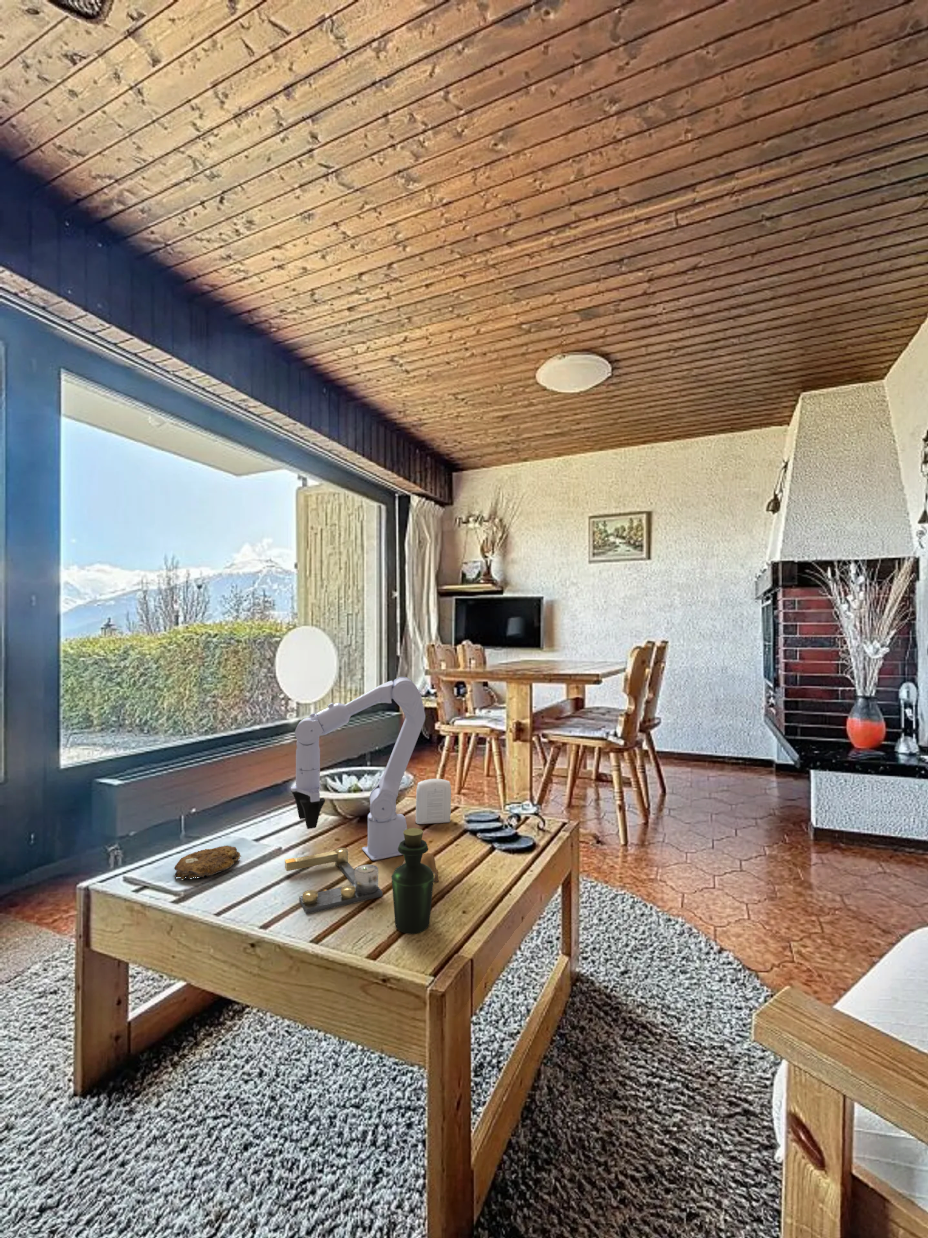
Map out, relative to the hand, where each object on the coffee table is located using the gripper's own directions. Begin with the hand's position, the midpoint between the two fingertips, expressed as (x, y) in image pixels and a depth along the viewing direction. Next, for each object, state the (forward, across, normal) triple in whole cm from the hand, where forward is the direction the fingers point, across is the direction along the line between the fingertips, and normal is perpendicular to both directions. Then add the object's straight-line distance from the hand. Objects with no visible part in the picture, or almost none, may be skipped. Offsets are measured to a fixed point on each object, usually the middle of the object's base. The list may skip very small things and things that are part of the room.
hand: (307, 823), depth 142 cm
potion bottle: (+9, +41, +10) cm, 43 cm away
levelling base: (+8, +18, +1) cm, 20 cm away
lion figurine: (+9, +29, +17) cm, 35 cm away
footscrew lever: (+8, +8, 0) cm, 11 cm away
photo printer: (+9, -8, +38) cm, 40 cm away
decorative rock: (+9, -4, -22) cm, 24 cm away
